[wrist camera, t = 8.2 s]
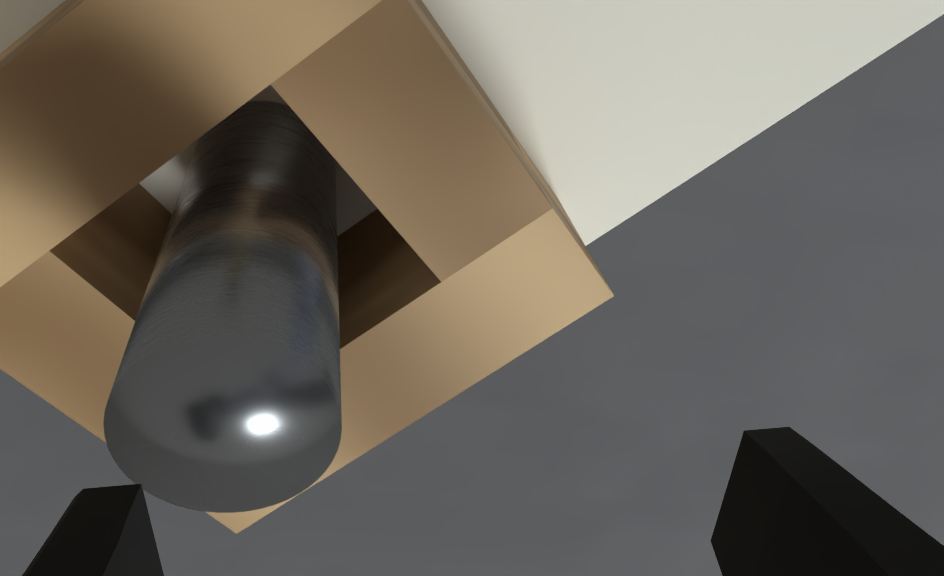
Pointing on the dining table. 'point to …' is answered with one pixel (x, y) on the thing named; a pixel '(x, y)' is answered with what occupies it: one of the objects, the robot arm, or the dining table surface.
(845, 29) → the board
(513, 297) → the square wooden ring
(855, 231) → the dining table surface
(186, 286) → the metal peg
